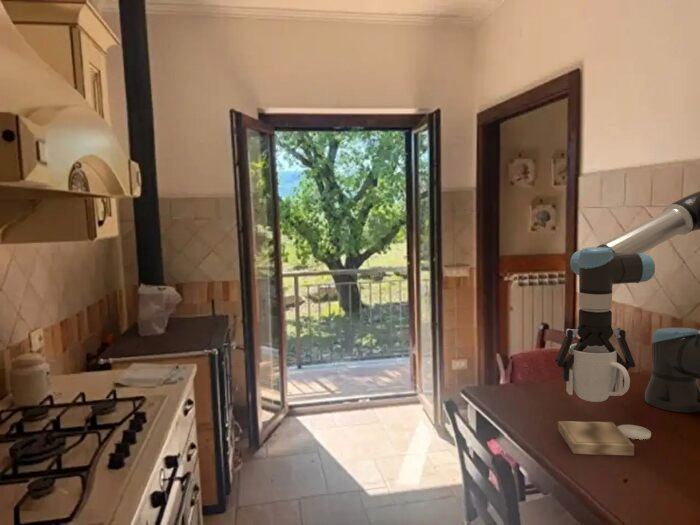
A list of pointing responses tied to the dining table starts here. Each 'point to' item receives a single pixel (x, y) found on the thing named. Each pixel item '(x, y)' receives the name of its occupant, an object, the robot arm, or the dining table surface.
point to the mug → (596, 373)
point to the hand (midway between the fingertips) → (594, 393)
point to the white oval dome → (635, 432)
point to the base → (595, 438)
